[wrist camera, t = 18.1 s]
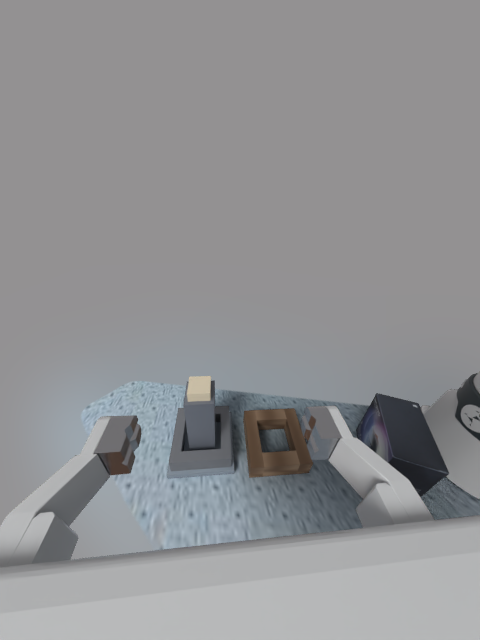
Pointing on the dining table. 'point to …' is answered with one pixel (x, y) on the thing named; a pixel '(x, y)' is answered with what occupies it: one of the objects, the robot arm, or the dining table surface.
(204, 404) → the plug
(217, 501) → the dining table surface
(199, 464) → the dock
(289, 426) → the frame
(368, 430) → the small box
